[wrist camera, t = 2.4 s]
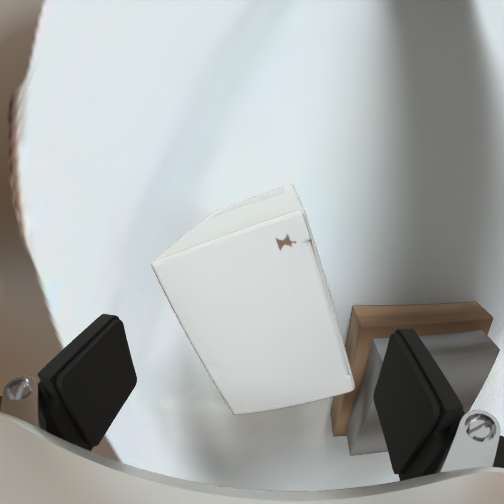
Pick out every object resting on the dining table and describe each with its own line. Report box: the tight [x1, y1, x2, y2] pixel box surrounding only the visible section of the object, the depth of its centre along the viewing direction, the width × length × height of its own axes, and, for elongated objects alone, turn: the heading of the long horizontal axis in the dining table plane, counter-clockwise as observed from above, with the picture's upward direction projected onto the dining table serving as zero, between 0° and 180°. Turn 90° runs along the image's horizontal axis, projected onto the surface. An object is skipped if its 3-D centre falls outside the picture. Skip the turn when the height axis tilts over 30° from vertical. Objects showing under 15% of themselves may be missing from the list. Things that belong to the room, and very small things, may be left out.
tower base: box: [331, 302, 500, 456], centre depth 19 cm, size 12×12×6 cm
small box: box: [151, 184, 355, 415], centre depth 15 cm, size 8×6×10 cm
